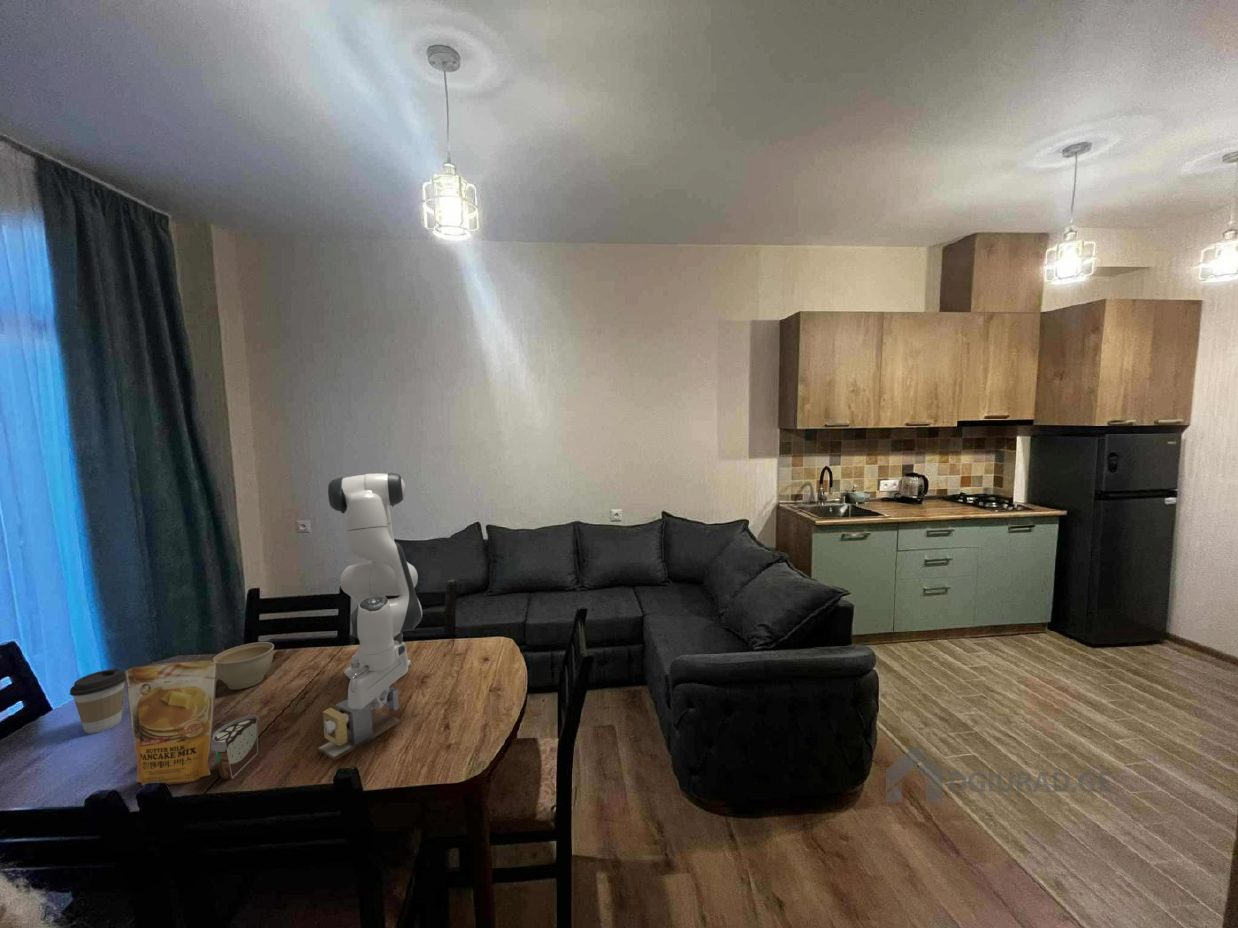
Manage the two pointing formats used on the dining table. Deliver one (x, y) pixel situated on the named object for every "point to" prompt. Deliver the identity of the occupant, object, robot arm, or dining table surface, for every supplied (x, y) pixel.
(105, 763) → the dining table surface
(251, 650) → the planter bowl
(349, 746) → the rig base
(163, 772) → the pancake mix bag
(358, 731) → the block
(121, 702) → the coffee cup
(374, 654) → the robot arm
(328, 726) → the shaft
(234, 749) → the food container
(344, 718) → the spacer
